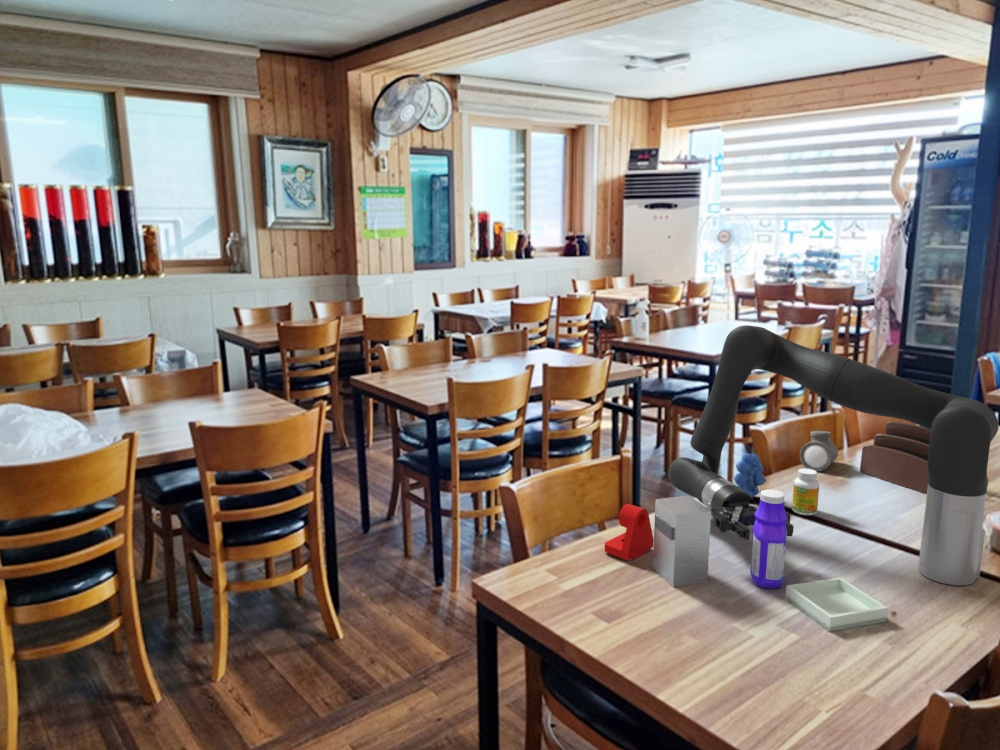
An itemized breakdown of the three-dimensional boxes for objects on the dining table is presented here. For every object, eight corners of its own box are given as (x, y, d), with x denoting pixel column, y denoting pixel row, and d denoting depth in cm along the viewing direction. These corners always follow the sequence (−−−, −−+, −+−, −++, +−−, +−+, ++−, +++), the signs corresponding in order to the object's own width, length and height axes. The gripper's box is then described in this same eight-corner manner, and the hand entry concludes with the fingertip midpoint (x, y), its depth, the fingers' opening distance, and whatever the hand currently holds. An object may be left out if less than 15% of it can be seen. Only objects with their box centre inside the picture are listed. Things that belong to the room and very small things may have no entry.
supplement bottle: (791, 514, 168) (794, 473, 166) (792, 505, 173) (795, 466, 171) (817, 517, 166) (820, 476, 164) (816, 508, 171) (820, 468, 169)
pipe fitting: (829, 473, 193) (831, 435, 193) (798, 469, 198) (799, 432, 198) (843, 467, 202) (845, 430, 202) (813, 464, 207) (814, 427, 207)
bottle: (785, 592, 132) (793, 501, 129) (752, 589, 133) (758, 498, 130) (779, 574, 139) (785, 486, 136) (747, 571, 140) (753, 484, 137)
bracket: (628, 540, 155) (629, 495, 153) (653, 549, 150) (654, 503, 148) (602, 553, 149) (603, 507, 147) (627, 563, 144) (629, 515, 142)
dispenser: (687, 562, 144) (691, 495, 141) (709, 581, 137) (713, 510, 134) (651, 568, 142) (653, 499, 139) (671, 587, 134) (674, 515, 132)
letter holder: (883, 467, 200) (888, 416, 197) (956, 489, 183) (963, 435, 180) (858, 472, 196) (863, 421, 193) (931, 496, 178) (937, 440, 176)
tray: (838, 590, 133) (840, 577, 133) (886, 621, 122) (887, 607, 122) (785, 598, 130) (786, 585, 130) (829, 631, 120) (830, 617, 119)
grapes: (752, 511, 169) (756, 461, 167) (725, 504, 174) (728, 455, 172) (775, 498, 178) (778, 450, 175) (749, 491, 182) (752, 444, 180)
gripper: (695, 486, 148) (734, 517, 133) (760, 481, 151) (806, 511, 135) (693, 521, 150) (732, 556, 134) (758, 516, 152) (803, 549, 137)
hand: (769, 533), depth 135 cm, fingers open, 8 cm apart
